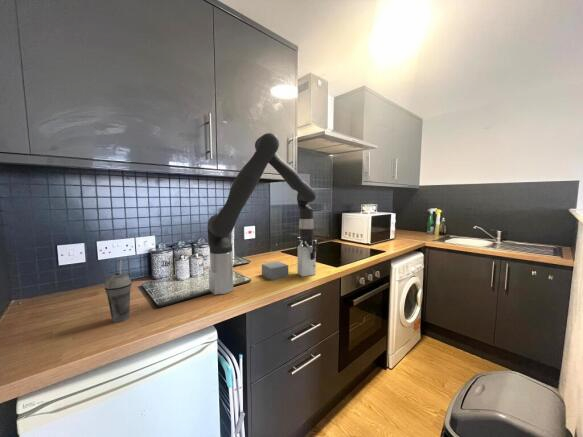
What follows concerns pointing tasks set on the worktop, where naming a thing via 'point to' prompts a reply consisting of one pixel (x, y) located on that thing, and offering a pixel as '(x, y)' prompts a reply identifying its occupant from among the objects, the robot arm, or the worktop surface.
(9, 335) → the worktop surface
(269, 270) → the charcoal block
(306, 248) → the skincare box
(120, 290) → the beverage cup
